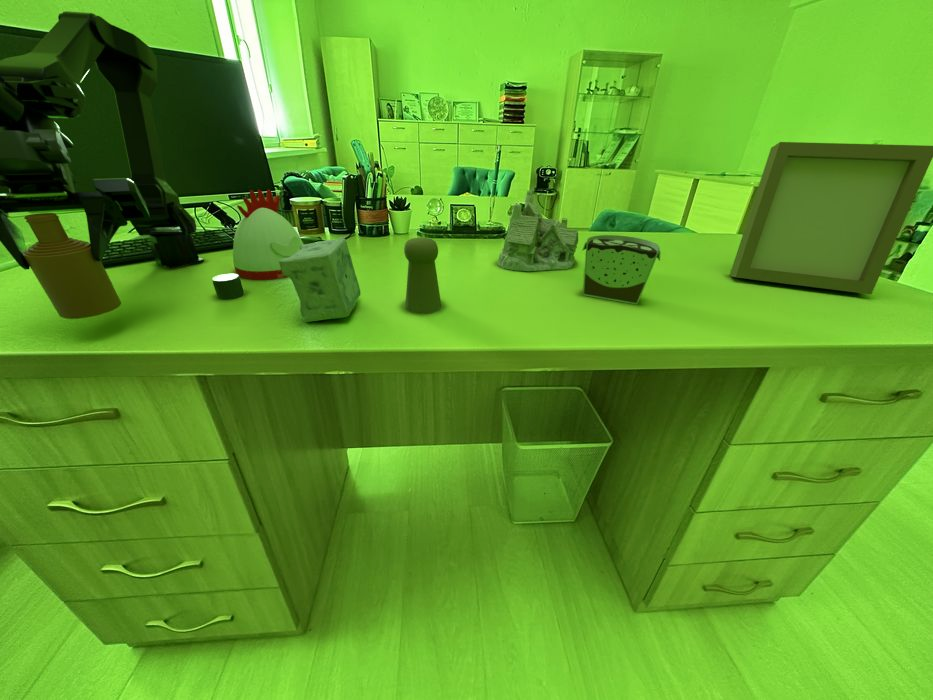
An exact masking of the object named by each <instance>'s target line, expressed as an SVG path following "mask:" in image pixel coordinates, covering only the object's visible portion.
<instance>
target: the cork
mask: <svg viewBox="0 0 933 700" xmlns="http://www.w3.org/2000/svg"><path fill="white" fill-rule="evenodd" d="M403 251H404V252H403V253H404V256H405V259H406V260H407V261H408V263H407V266H408V267H407V277H406V289H405V290H406V291H405V302H404V303H405V305H404V306H405V307H404V308H405V309H406V311H408V312H410V313H413V314H422V315H423V314H425V315H426V314H431V313H435V312H438V311H439V310H441V308H443V307H442V301H441V293H440V287H439V281H438V275H437V274H438V273H437V268H436V266H437V265H436V259H437V258H438V255H439V247H438V244H437V242H436V241H435V240H434V239H432V238H429V237H413V238H410V239H408V240H406V242H405V244H404V247H403Z"/></svg>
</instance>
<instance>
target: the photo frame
mask: <svg viewBox="0 0 933 700" xmlns="http://www.w3.org/2000/svg"><path fill="white" fill-rule="evenodd" d="M932 160H933V145H924V144H923V145H921V144H920V145H917V144H882V143H881V144H880V143H879V144H878V143H844V142H843V143H842V142H841V143H839V142H837V143H836V142H803V141H802V142H797V141H796V142H795V141H779V142H777V143H776V144H774V145H773V146H772V147H770V150H769V152H768V156H767V159H766V163H765V165H764V168H763V171H762V175H761V177H760V180H759V182H758V183H759V184H758V187H757V190H756V193H755V196H754V198H753V202H752V205H751V208H750V211H749V214H748V216H747V219H746V220H747V221H746V223H745V226H744V230H743V233H742V236H741V239H740V242H739V245H738V248H737V251H736V254H735V257H734V260H733V264H732V267H731V269H730V273H729V276H730V277H733V278H738V279H747V280H753V281H762V282H769V283H777V284H778V283H779V284H786V285H794V286H803V287H808V288H809V287H810V288H816V289H825V290H834V291H841V292H848V293H849V292H850V293H855V294H857V293H858V294H866V295H872V294H873V292H874V290H875V288H876V286H877V283H878V280H879V278H880V277H881V274H882V272H883V269H884V267H885V265H886V262H887V261H888V258H889V256H890V253H891V252H892V249H893V247H894V245H895V242H896V240H897V238H898V236H899V233H900V231H901V229H902V227H903V225H904V223H905V220H906V218H907V217H908V215H909V211H910V209H911V206H912V204H913V202H914V200H915V198H916V196H917V194H918V192H919V189H920V187H921V184H922V183H923V180H924V178H925V176H926V174H927V172H928V169H929V167H930V165H931V162H932Z"/></svg>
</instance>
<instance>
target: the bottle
mask: <svg viewBox="0 0 933 700" xmlns="http://www.w3.org/2000/svg"><path fill="white" fill-rule="evenodd" d="M23 219H24V220H25V222H26V223H27V225H28V226H29V228H30V229H31V230H32V232H33V234H34V236H35V238H36V239H37V241H36V242H35V243H33V244H32V245H30V246H29V247H27V249H26V250H25V251H24V253H23V256H24V258H25V259H26V261H27V263H28V264H29V266H30V269H31V271H32V273H33V274H34V276H35V277H36V280H37V281H38V283H39V284H40V286H41V288H42V289H43V291H44V293H45V294H46V296H47V298H48V299H49V302H50V303H51V304H52V306H53V308H54V309H55V311H56V313H57V314H58V316H59V317H60V318H62V319H67V320H77V319H78V320H79V319H85V318H86V319H87V318H91V317H92V318H93V317H96V316H100V315H103V314H106V313H109V312H112V311H114V310H116V309H118V308H119V307H120V306H122V301H121V299H120V296H119V295H118V293H117V290H116V288H115V287H114V284H113V283H112V281H111V279H110V277H109V274H108V273H107V271H106V268H105V267H104V264H103V262H102V261H97V260H96V259H95V258H94V255H93V252H92V249H91V246H90V241H84V240H80V239H76V238H73V237H69V236H68V234H67V232H66V230H65V227H64V226H63V223H62V222H61V220H60V216H58V215H57V213H56V212H48V213H30V214H27V215H25V216H24V217H23Z"/></svg>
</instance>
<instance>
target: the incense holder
mask: <svg viewBox="0 0 933 700" xmlns="http://www.w3.org/2000/svg"><path fill="white" fill-rule="evenodd" d="M299 247H300V249H301V250H300V251H298V252H296V253H294V255H292V256H291V257H289V258H282V259H280V260H279V264H280V268H281V270H282V273H283V275H284V276H288V277H287V278H289V279H290V280H291V283H292V285H293V287H294V289H295V292H296V295H297V297H298V299H299V302H300V303H299V305H300V306H299V312H300V313H299V314H300V316H301V319H302V321H303V322H305V323H310V322H317V321H324V320H331V319H332V320H333V319H342V318H343V319H344V318H347V317H349V316H350V315H351V312H352V311H355V309H356V305H357V301H358V299H359V297H360V296H361V288H360V284H359V281H358V278H357V277H358V276H357V274H356V271H355V267H354V264H353V263H354V262H353V259H352V255H351V252H350V250H349V246H348V242H347V240H346V238H344V237H343V238H342V237H341V238H335V239H328V240H322V241H321V240H320V241H317V242H310V243H305V244H304V243H303V244H302V245H300V246H299Z"/></svg>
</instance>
